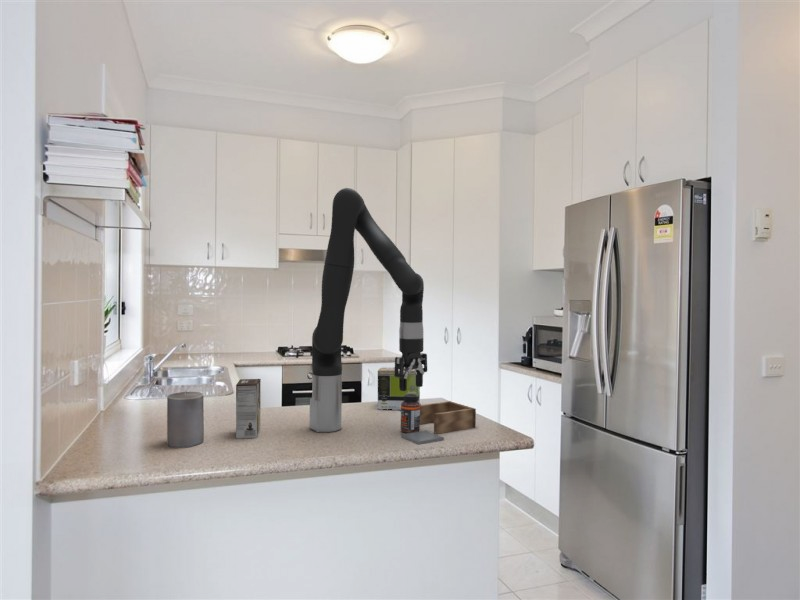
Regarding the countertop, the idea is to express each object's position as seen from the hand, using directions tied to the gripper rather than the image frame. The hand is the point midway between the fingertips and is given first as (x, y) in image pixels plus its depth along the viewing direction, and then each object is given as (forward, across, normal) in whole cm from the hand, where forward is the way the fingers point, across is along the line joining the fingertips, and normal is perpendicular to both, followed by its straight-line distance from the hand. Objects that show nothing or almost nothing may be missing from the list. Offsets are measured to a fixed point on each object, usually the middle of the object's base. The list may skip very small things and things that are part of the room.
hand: (411, 388), depth 170 cm
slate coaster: (+13, -5, -8) cm, 16 cm away
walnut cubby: (+13, +11, -4) cm, 18 cm away
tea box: (+14, +24, +23) cm, 36 cm away
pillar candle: (+13, -51, +42) cm, 67 cm away
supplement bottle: (+14, -1, 0) cm, 14 cm away
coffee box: (+13, -34, +36) cm, 51 cm away
